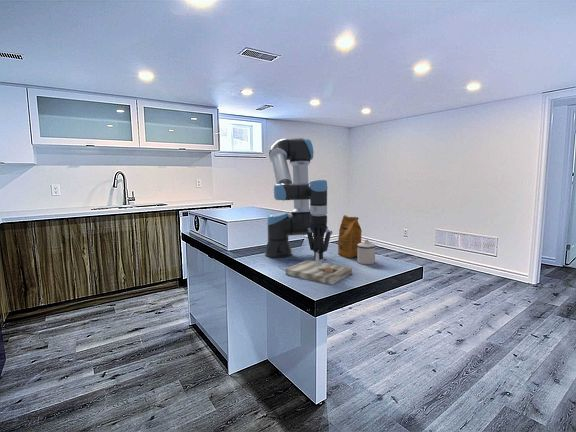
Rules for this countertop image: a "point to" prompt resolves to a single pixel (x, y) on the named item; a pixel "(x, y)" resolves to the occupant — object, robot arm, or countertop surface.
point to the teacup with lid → (366, 252)
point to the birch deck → (318, 272)
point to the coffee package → (349, 237)
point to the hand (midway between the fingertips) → (318, 265)
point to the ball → (328, 270)
